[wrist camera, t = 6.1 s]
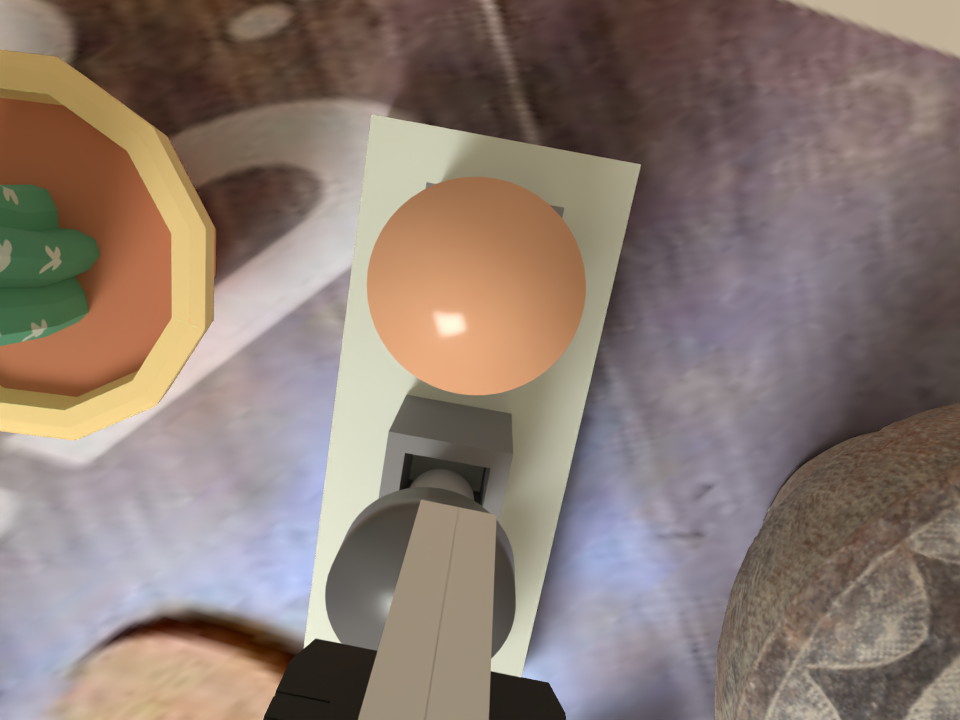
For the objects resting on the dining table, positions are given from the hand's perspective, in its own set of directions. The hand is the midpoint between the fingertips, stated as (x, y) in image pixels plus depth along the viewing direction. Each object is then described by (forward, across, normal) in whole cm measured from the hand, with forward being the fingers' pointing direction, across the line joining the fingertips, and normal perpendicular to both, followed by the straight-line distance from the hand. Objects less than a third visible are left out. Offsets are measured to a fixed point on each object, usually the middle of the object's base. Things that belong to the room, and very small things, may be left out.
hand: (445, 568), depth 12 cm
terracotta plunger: (+13, -1, +4) cm, 14 cm away
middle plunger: (+13, -1, -5) cm, 14 cm away
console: (+21, -1, -6) cm, 22 cm away
